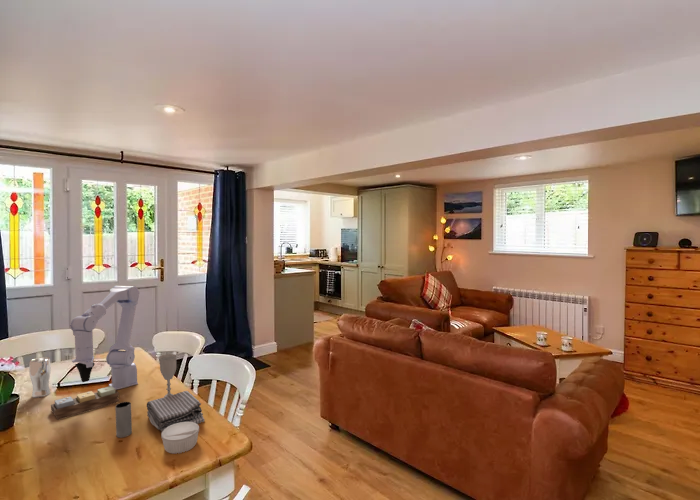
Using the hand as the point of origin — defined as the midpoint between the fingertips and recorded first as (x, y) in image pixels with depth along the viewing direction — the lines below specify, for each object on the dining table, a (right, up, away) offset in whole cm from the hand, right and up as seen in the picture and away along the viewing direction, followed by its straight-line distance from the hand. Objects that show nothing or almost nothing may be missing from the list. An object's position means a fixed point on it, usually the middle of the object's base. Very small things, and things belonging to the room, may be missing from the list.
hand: (85, 381), depth 152 cm
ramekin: (+49, -12, -27) cm, 57 cm away
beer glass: (-26, -10, +11) cm, 30 cm away
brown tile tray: (0, -10, +1) cm, 10 cm away
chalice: (+30, -10, +5) cm, 32 cm away
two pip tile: (0, -7, 0) cm, 7 cm away
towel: (+40, -11, -11) cm, 43 cm away
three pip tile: (-5, -8, -5) cm, 10 cm away
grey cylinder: (+27, -11, -20) cm, 36 cm away
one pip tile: (+5, -7, +5) cm, 10 cm away
